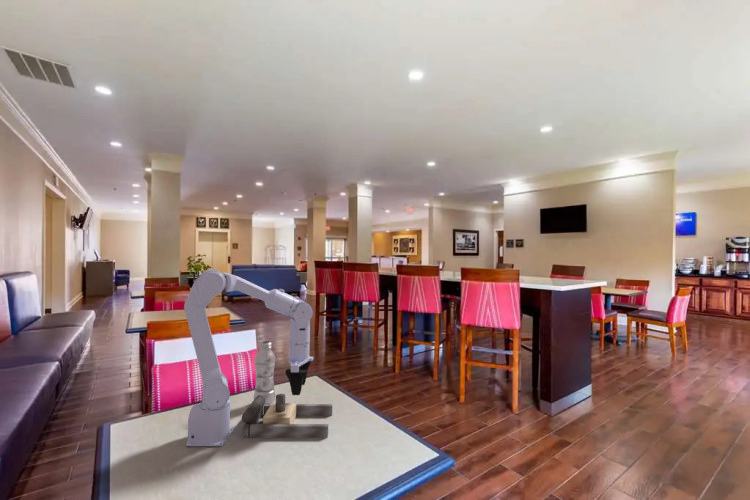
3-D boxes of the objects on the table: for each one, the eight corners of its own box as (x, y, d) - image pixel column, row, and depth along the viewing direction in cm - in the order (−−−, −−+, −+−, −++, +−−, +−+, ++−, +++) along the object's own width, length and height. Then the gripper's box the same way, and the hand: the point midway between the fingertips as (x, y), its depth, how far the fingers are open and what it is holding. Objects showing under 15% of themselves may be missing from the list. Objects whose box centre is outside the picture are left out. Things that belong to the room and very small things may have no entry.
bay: (238, 442, 89) (239, 414, 89) (255, 417, 103) (256, 393, 103) (329, 442, 90) (329, 414, 90) (333, 417, 104) (334, 393, 104)
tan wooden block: (262, 433, 92) (263, 402, 92) (271, 417, 101) (272, 389, 101) (289, 432, 92) (290, 402, 92) (295, 417, 101) (296, 389, 101)
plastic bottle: (271, 409, 109) (273, 344, 109) (250, 408, 109) (251, 344, 109) (277, 400, 115) (279, 340, 115) (257, 400, 115) (258, 339, 116)
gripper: (309, 348, 94) (308, 399, 93) (316, 336, 108) (315, 380, 108) (283, 348, 93) (282, 399, 93) (294, 336, 108) (293, 380, 108)
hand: (298, 389), depth 101 cm, fingers open, 7 cm apart
